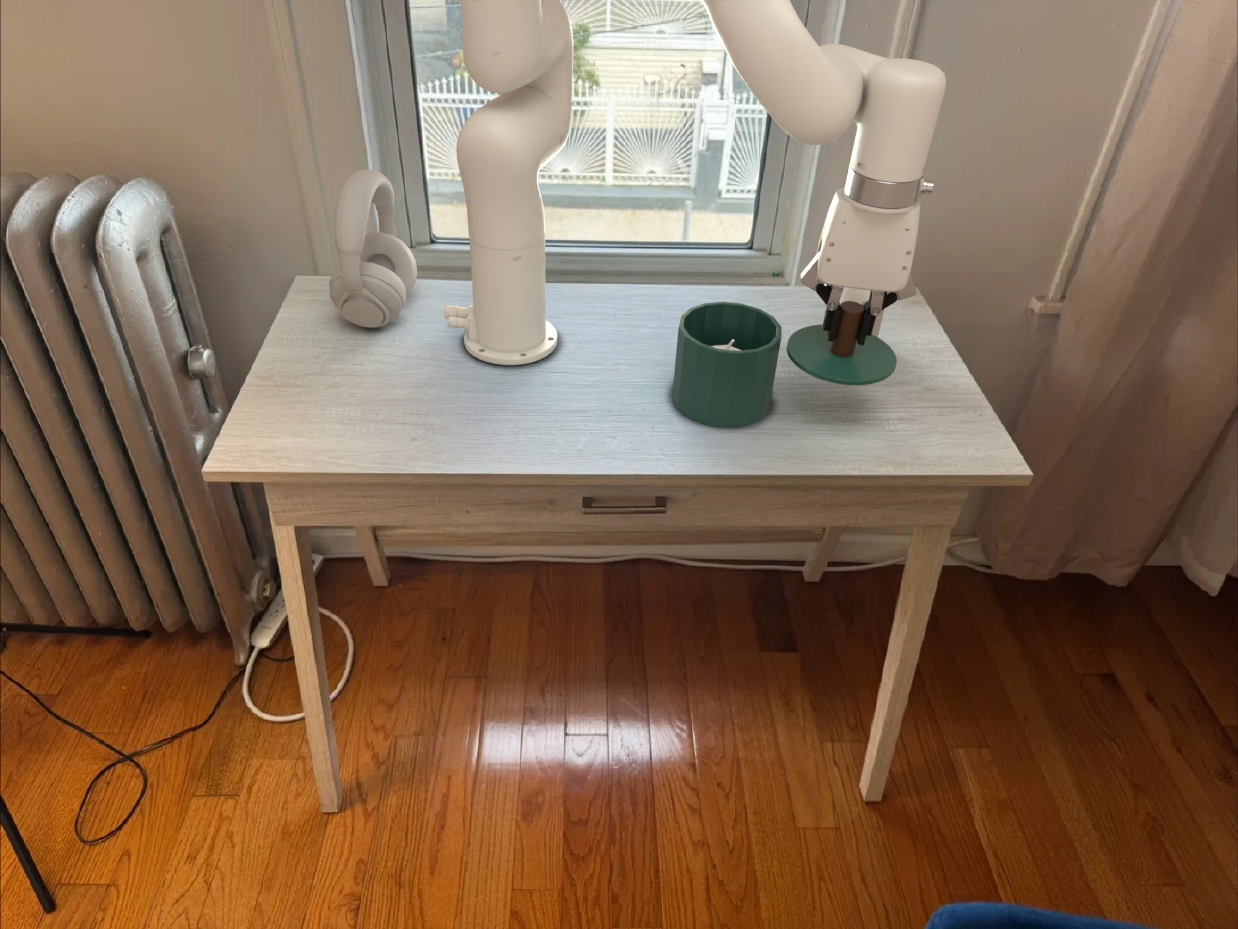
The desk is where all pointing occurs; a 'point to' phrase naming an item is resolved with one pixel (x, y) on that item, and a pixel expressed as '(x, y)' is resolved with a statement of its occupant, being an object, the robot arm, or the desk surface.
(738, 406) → the pot
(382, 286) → the headphones
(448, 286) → the desk surface
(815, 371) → the lid
